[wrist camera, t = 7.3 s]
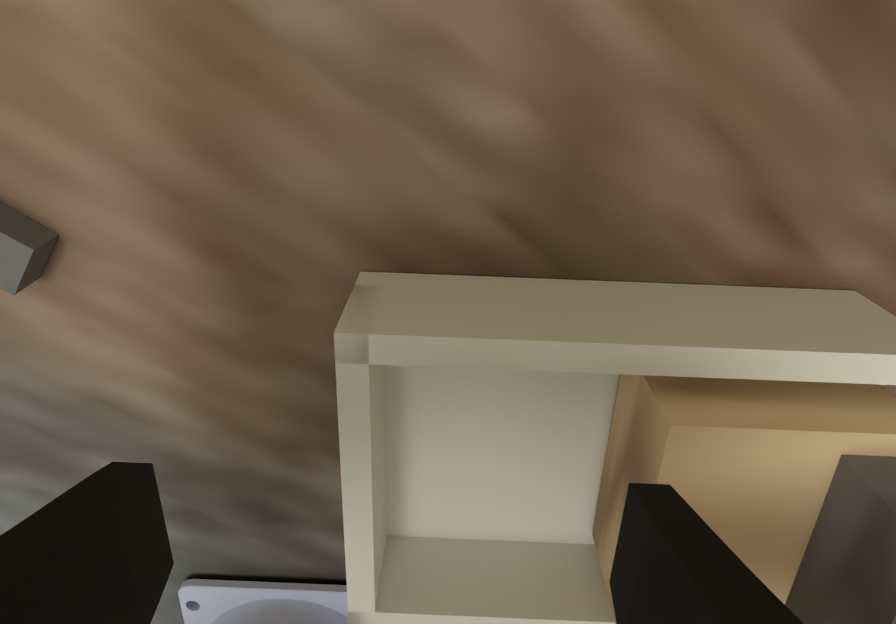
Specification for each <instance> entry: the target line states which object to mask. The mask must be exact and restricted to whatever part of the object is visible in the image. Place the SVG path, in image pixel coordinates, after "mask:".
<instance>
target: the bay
mask: <svg viewBox="0 0 896 624" xmlns="http://www.w3.org/2000/svg"><path fill="white" fill-rule="evenodd" d="M334 349H335V368H336V388H337V407H338V426H339V446H340V465H341V485H342V504H343V523H344V543H345V562H346V582H347V601H348V620H349V624H616V623H615V620H614V616H613V612H612V608H611V604H610V600H609V597H608V593H607V589H606V585H605V581H604V577H603V573H602V570H601V566H600V562H599V558H598V554H597V550H596V547H595V543H594V539H593V535H592V533H593V527H594V522H595V516H596V510H597V505H598V499H599V493H600V488H601V482H602V476H603V470H604V465H605V459H606V453H607V448H608V442H609V436H610V431H611V425H612V419H613V413H614V408H615V402H616V396H617V391H618V385H619V379H620V374H626V375H651V376H677V377H702V378H727V379H753V380H778V381H803V382H829V383H854V384H879V385H896V317H895V316H893V315H892V314H890V313H889V312H887V311H886V310H884V309H882V308H881V307H879V306H878V305H876V304H875V303H873V302H872V301H870V300H869V299H867V298H866V297H864V296H862V295H861V294H859V293H858V292H856V291H852V290H826V289H800V288H774V287H749V286H723V285H697V284H671V283H645V282H619V281H593V280H567V279H541V278H515V277H489V276H464V275H438V274H412V273H386V272H360V273H359V275H358V278H357V280H356V282H355V285H354V287H353V289H352V292H351V294H350V296H349V299H348V301H347V303H346V306H345V308H344V310H343V312H342V315H341V317H340V319H339V322H338V324H337V326H336V329H335V331H334Z"/></svg>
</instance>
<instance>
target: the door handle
mask: <svg viewBox="0 0 896 624" xmlns="http://www.w3.org/2000/svg"><path fill="white" fill-rule="evenodd" d="M57 237H58V234H56V233H54V232H53V231H51V230H49V229H48V228H46V227H44V226H42V225H41V224H39V223H37V222H35V221H34V220H32V219H30V218H29V217H27V216H25V215H23V214H22V213H20V212H18V211H17V210H15V209H13V208H11V207H10V206H8V205H6V204H5V203H3V202H1V201H0V288H1V289H3V290H5V291H7V292H9V293H11V294H13V295H15V294H17V293H18V292H20V291H21V290H22V289H24V288H25V287H27V286H28V285H30V284H31V283H33V282H34V281H36V280H37V279H38V278H39V277H40V275H41V273H42V271H43V268H44V266H45V264H46V262H47V260H48V257H49V255H50V253H51V251H52V248H53V246H54V244H55V242H56V239H57Z"/></svg>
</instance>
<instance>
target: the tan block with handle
mask: <svg viewBox="0 0 896 624" xmlns="http://www.w3.org/2000/svg"><path fill="white" fill-rule="evenodd" d="M629 483H646V484H670V485H671V486H672V487H673V488H674V489H675V490H676V492H677V493H678V494H679V495H680V496H681V497H682V498H683V499H684V500H685V501H686V502H687V503H688V504H689V505H690V506H691V508H692V509H693V510H694V511H695V512H696V513H697V514H698V515H699V516H700V517H701V518H702V519H703V520H704V522H705V523H706V524H707V525H708V526H709V527H710V528H711V529H712V530H713V531H714V532H715V533H716V534H717V535H718V536H719V538H720V539H721V540H722V541H723V542H724V543H725V544H726V545H727V546H728V547H729V548H730V549H731V550H732V551H733V552H734V553H735V555H736V556H737V557H738V558H739V559H740V560H741V561H742V562H743V563H744V564H745V565H746V566H747V567H748V568H749V569H750V570H751V571H752V572H753V573H754V574H755V575H756V576H757V577H758V578H759V579H760V580H761V581H762V582H763V583H764V584H765V585H766V586H767V587H768V589H769V590H770V591H771V592H772V593H773V594H774V595H775V596H776V597H777V598H778V599H779V600H780V601H781V602H782V603H783V604H784V605H785V606H786V607H788V608H789V609H790V610H791V611H792V612H793V613H794V614H795V615H796V616H797V617H798V618H799V619H800V620H801V621H802V622H803V623H804V624H896V399H895V398H894V397H892V396H891V395H890V394H889V393H888V392H886V391H885V390H884V389H883V388H882V387H880V386H879V385H878V384H854V383H829V382H803V381H778V380H753V379H727V378H702V377H677V376H651V375H626V374H620V379H619V385H618V391H617V396H616V402H615V408H614V413H613V419H612V425H611V431H610V436H609V442H608V448H607V453H606V459H605V465H604V470H603V476H602V482H601V488H600V493H599V499H598V505H597V510H596V516H595V522H594V527H593V533H592V535H593V539H594V543H595V547H596V550H597V554H598V558H599V562H600V566H601V570H602V573H603V577H604V581H605V585H606V589H607V593H608V597H609V600H610V604H611V608H612V612H613V616H614V620H615V623H616V618H615V612H614V606H613V600H612V595H611V589H610V583H609V581H610V576H611V571H612V565H613V560H614V555H615V550H616V545H617V540H618V535H619V530H620V525H621V520H622V515H623V510H624V505H625V500H626V495H627V490H628V485H629Z"/></svg>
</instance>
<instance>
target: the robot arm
mask: <svg viewBox="0 0 896 624" xmlns="http://www.w3.org/2000/svg"><path fill="white" fill-rule="evenodd" d="M173 564H174V563H173V558H172V553H171V548H170V544H169V539H168V534H167V530H166V525H165V520H164V516H163V511H162V506H161V502H160V497H159V492H158V487H157V483H156V478H155V473H154V469H153V464H152V463H128V462H111V463H110V464H108V465H107V466H105V467H103V468H102V469H100V470H98V471H97V472H95V473H94V474H92V475H90V476H89V477H87V478H86V479H84V480H83V481H81V482H80V483H78V484H77V485H75V486H74V487H72V488H71V489H69V490H68V491H66V492H65V493H63V494H62V495H60V496H59V497H57V498H56V499H54V500H53V501H51V502H50V503H48V504H47V505H45V506H44V507H43V508H41V509H40V510H38V511H37V512H35V513H34V514H32V515H31V516H29V517H28V518H26V519H25V520H23V521H22V522H20V523H19V524H17V525H16V526H14V527H13V528H11V529H10V530H8V531H7V532H5V533H4V534H2V535H1V536H0V624H150V623H151V620H152V618H153V615H154V613H155V610H156V608H157V606H158V603H159V601H160V598H161V596H162V593H163V590H164V588H165V585H166V582H167V580H168V577H169V574H170V572H171V569H172V567H173ZM609 583H610V589H611V595H612V600H613V606H614V612H615V618H616V624H804V623H803V622H802V621H801V620H800V619H799V618H798V617H797V616H796V615H795V614H794V613H793V612H792V611H791V610H790V609H789V608H788V607H786V606H785V605H784V604H783V603H782V602H781V601H780V600H779V599H778V598H777V597H776V596H775V595H774V594H773V593H772V592H771V591H770V590H769V589H768V587H767V586H766V585H765V584H764V583H763V582H762V581H761V580H760V579H759V578H758V577H757V576H756V575H755V574H754V573H753V572H752V571H751V570H750V569H749V568H748V567H747V566H746V565H745V564H744V563H743V562H742V561H741V560H740V559H739V558H738V557H737V556H736V555H735V553H734V552H733V551H732V550H731V549H730V548H729V547H728V546H727V545H726V544H725V543H724V542H723V541H722V540H721V539H720V538H719V536H718V535H717V534H716V533H715V532H714V531H713V530H712V529H711V528H710V527H709V526H708V525H707V524H706V523H705V522H704V520H703V519H702V518H701V517H700V516H699V515H698V514H697V513H696V512H695V511H694V510H693V509H692V508H691V506H690V505H689V504H688V503H687V502H686V501H685V500H684V499H683V498H682V497H681V496H680V495H679V494H678V493H677V492H676V490H675V489H674V488H673V487H672V486H671V485H670V484H646V483H629V485H628V490H627V495H626V500H625V505H624V510H623V515H622V520H621V525H620V530H619V535H618V540H617V545H616V550H615V555H614V560H613V565H612V571H611V576H610V581H609ZM178 596H179V601H180V605H181V610H182V615H183V619H184V624H349V620H348V601H347V585H328V584H304V583H281V582H257V581H233V580H209V579H188V580H186V581H184V582H183V583H182V585H181V587H180V589H179V591H178Z"/></svg>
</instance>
